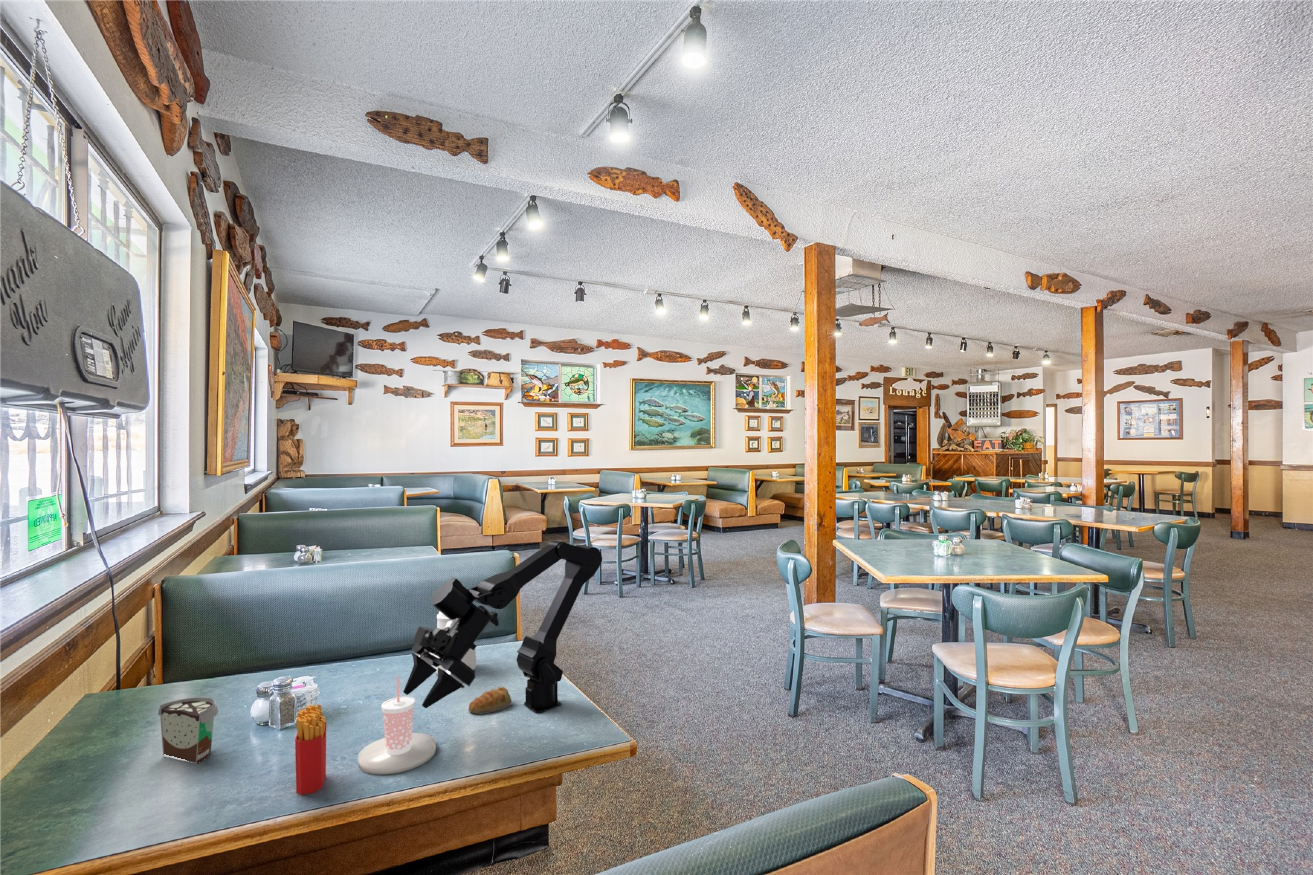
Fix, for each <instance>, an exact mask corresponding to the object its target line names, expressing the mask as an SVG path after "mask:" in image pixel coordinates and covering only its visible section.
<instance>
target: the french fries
mask: <svg viewBox="0 0 1313 875" xmlns="http://www.w3.org/2000/svg"><path fill="white" fill-rule="evenodd" d="M295 720H296V730H297V733H296V735H295V738H294V750H295V753H294V754H295V756H294V757H295V758H294V759H295V792H296V793H297V794H298V795H301V796H303V795H309V794H315V793H317V792H318V791H319V790H321V789H322V788H323V786H324V784H325V781H326V777H327V721H326V717H325V716H323V711H322V705H320V704H318V703H317V704H316V705H315V704H313V705H312V704H309V705H306V706H305V708H304V709H303V708H302V709H300V710H298V712H297V716H296V719H295Z"/></svg>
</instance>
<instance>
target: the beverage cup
mask: <svg viewBox="0 0 1313 875" xmlns="http://www.w3.org/2000/svg"><path fill="white" fill-rule="evenodd" d="M400 683H401V682H400V676H396V697H393V698H390V699H387V700H385V701H384V702H383V703H381V712H382V716H383V728H384V729H383V730H384V738H385V745H386V753H387V754H389V755H398V754H403V753H405V752H407V751H409V750H410V749H411V742H412V733H413V722H414V721H413V720H414V707H415V706H416V705H415V704H416V699H415V698H414V697H411V696H400V694H401V693H400V691H401V690H400Z"/></svg>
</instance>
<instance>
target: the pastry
mask: <svg viewBox="0 0 1313 875" xmlns="http://www.w3.org/2000/svg"><path fill="white" fill-rule="evenodd" d="M512 703H513V702H512V698H511V695H510V692H509V690H508V689H507V688H506V687H505V686H501V687H500V686H498V687H497V688H496V689H491V690H487V691H484V692H483V693H482V694H481V695H479V696H478V697H475V699H473V700H472V701H470V703H469V705H468V712H470V713H473V714H476V715H481V713H482V714H487V713H495V712H496V710H497V711H499V709H500V710H502V709H506V708H508V707H510V706H511V704H512Z"/></svg>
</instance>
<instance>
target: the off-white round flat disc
mask: <svg viewBox="0 0 1313 875" xmlns="http://www.w3.org/2000/svg"><path fill="white" fill-rule="evenodd" d="M436 752H437V741H436V739H435V738H434V737H433V736H431V735H428V734H425V733H421V732H412V742H411V749H410V750H409V751H407V752H405V753H403V754H398V755H389V754H387V753H386V745H385V737H382V738H380V739H378V740H375V741H373V742H371V743H369V744H368V745H366V746H365V747H364V748H362V749H361V750H360V752H359V753H358V756H357V757H358V758H357V765H358V768H359V770H361V771H363V773H367V774H371V775H394V774H399V773H403V772H407V771H410V770H412V769H416V768H418V767H420V766H421V765H423V764H424V765H425V763H428V761H430V760H431V759H432V758H433V757H434V756H435V754H436Z"/></svg>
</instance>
